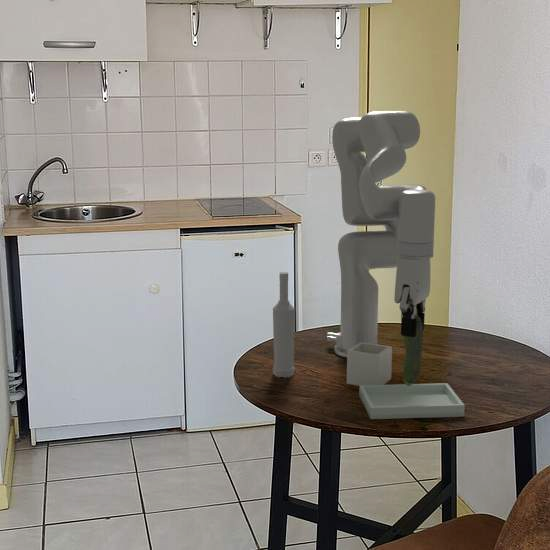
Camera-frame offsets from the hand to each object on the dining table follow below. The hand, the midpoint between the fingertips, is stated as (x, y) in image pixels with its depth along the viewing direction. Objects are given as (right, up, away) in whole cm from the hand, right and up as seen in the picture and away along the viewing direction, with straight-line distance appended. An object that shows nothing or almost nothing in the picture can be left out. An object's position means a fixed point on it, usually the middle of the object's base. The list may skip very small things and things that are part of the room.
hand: (412, 332), depth 195 cm
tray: (0, -16, +4) cm, 17 cm away
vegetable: (0, -12, +3) cm, 13 cm away
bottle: (-27, -12, +24) cm, 38 cm away
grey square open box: (-7, -13, +19) cm, 24 cm away
